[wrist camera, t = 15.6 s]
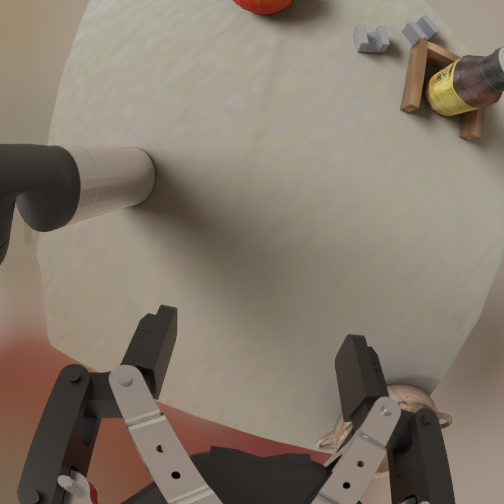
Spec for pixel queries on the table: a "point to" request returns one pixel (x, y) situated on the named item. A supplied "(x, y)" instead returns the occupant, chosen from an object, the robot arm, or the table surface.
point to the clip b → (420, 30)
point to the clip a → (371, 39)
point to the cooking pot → (407, 400)
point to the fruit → (263, 5)
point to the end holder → (415, 77)
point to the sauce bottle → (467, 84)
